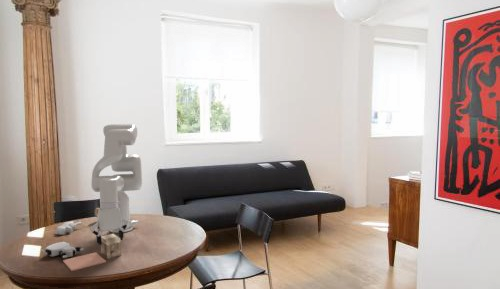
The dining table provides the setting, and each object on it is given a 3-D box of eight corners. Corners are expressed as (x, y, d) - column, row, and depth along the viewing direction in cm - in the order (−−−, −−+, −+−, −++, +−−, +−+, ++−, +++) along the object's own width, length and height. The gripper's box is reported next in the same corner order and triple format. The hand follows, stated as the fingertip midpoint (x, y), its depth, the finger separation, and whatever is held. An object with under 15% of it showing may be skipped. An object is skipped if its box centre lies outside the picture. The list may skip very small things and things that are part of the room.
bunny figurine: (50, 228, 198) (68, 217, 212) (51, 237, 199) (69, 226, 213) (65, 229, 196) (83, 218, 210) (66, 238, 197) (84, 226, 211)
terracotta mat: (95, 253, 171) (95, 252, 171) (106, 262, 160) (106, 261, 160) (62, 261, 162) (62, 260, 162) (71, 271, 151) (71, 269, 151)
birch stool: (113, 250, 175) (113, 233, 174) (121, 255, 168) (120, 238, 168) (101, 253, 171) (100, 236, 170) (107, 258, 164) (107, 241, 164)
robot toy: (85, 254, 172) (62, 248, 178) (85, 245, 172) (62, 239, 177) (63, 264, 161) (39, 257, 167) (63, 254, 160) (39, 247, 166)
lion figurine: (100, 223, 220) (99, 209, 219) (92, 223, 221) (91, 208, 220) (115, 217, 234) (114, 203, 233) (108, 216, 235) (107, 202, 234)
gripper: (124, 201, 176) (125, 236, 177) (86, 206, 165) (88, 244, 166) (130, 203, 171) (131, 239, 172) (92, 209, 159) (93, 248, 160)
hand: (110, 241), depth 169 cm, fingers open, 9 cm apart
